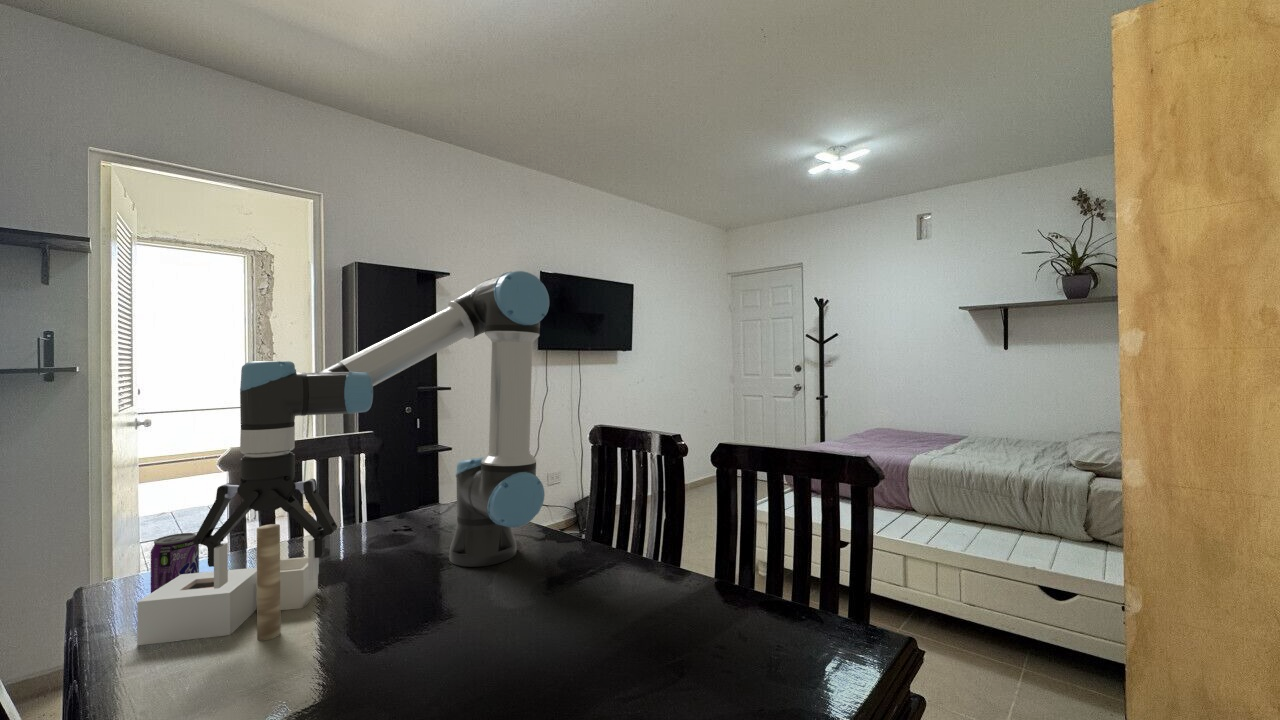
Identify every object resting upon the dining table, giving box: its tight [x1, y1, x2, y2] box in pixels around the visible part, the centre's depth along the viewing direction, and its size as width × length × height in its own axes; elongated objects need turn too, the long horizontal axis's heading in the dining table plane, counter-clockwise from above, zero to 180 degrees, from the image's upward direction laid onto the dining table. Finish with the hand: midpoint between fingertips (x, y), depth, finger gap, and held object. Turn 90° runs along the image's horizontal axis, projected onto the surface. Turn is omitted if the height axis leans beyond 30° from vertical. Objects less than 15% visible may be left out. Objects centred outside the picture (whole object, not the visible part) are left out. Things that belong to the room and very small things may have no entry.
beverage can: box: [150, 532, 200, 594], centre depth 104 cm, size 7×7×12 cm
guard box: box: [136, 567, 257, 646], centre depth 94 cm, size 13×12×7 cm
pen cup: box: [280, 556, 319, 611], centre depth 103 cm, size 8×8×7 cm
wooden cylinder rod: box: [256, 523, 282, 641], centre depth 90 cm, size 3×3×18 cm
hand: (268, 581), depth 90 cm, fingers open, 13 cm apart
